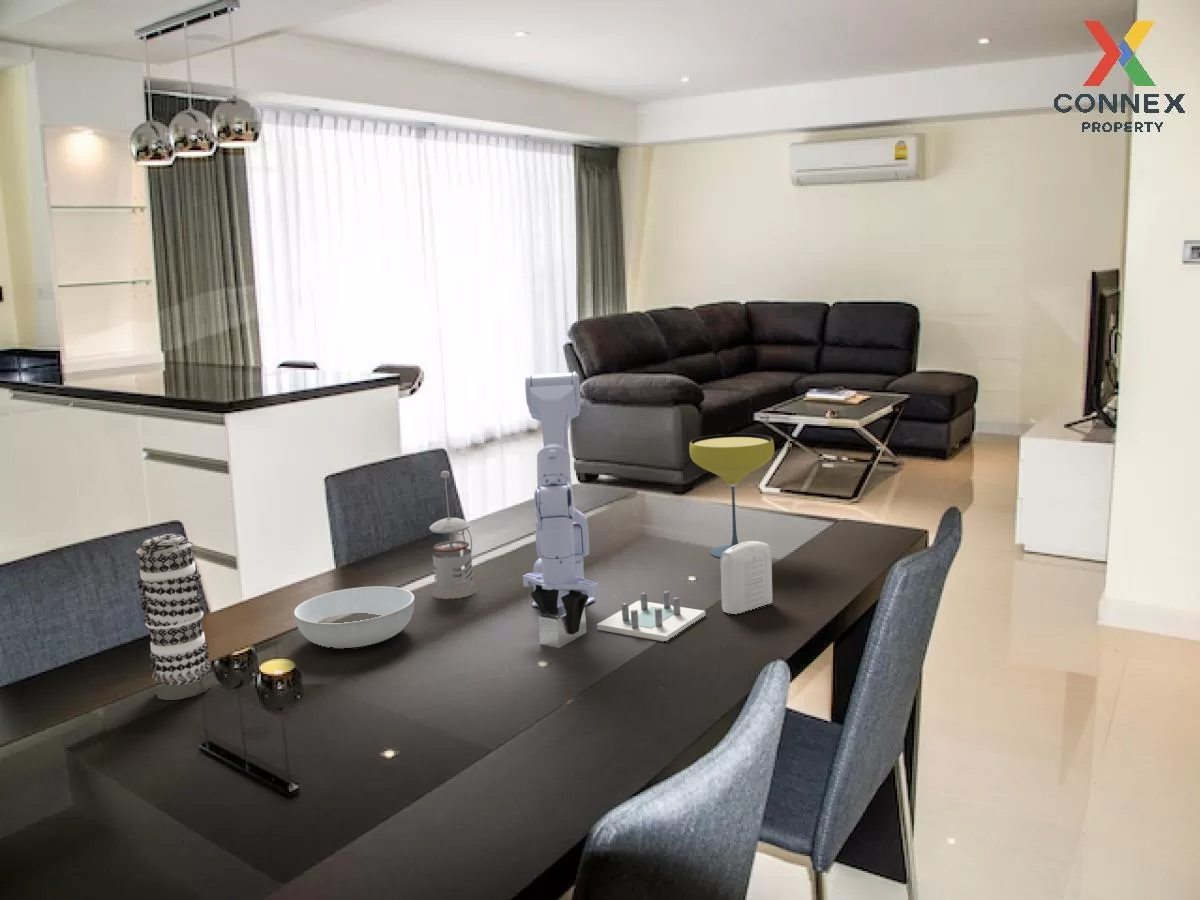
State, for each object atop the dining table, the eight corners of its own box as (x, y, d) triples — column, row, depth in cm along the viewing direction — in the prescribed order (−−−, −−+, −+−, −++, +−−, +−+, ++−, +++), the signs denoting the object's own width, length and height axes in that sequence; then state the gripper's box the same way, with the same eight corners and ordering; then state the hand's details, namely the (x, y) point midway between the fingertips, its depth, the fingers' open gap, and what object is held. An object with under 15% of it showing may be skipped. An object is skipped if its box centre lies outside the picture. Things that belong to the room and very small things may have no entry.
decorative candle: (154, 707, 150) (132, 549, 146) (151, 686, 158) (129, 536, 154) (218, 693, 154) (197, 538, 150) (211, 673, 162) (192, 527, 158)
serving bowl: (440, 625, 179) (437, 589, 178) (368, 668, 161) (364, 628, 160) (349, 615, 188) (346, 580, 187) (271, 654, 170) (267, 616, 168)
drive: (540, 644, 167) (538, 615, 166) (568, 629, 173) (566, 601, 173) (558, 648, 165) (556, 619, 164) (586, 632, 171) (584, 605, 170)
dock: (597, 629, 172) (596, 607, 172) (638, 605, 184) (637, 585, 183) (666, 641, 165) (665, 619, 164) (705, 616, 176) (704, 594, 175)
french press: (421, 597, 196) (410, 475, 192) (451, 580, 207) (441, 463, 203) (464, 601, 192) (453, 476, 188) (492, 583, 203) (482, 464, 199)
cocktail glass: (789, 546, 218) (786, 434, 213) (756, 568, 203) (753, 449, 198) (715, 538, 227) (711, 432, 223) (679, 559, 212) (674, 445, 208)
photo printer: (760, 599, 183) (758, 535, 181) (776, 604, 180) (774, 539, 178) (718, 611, 178) (715, 545, 176) (733, 617, 174) (731, 550, 172)
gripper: (509, 555, 167) (515, 631, 170) (579, 565, 159) (584, 644, 162) (534, 545, 173) (540, 618, 175) (603, 554, 165) (607, 630, 167)
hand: (563, 630), depth 169 cm, fingers closed on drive, 4 cm apart
